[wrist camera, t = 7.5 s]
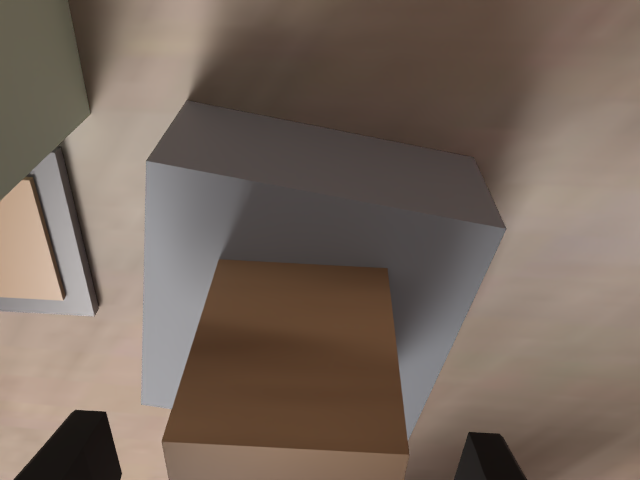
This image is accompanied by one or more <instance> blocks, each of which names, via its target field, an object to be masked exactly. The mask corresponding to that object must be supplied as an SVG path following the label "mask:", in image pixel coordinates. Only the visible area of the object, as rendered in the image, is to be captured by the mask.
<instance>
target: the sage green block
mask: <svg viewBox="0 0 640 480" xmlns="http://www.w3.org/2000/svg"><path fill="white" fill-rule="evenodd" d="M89 115H90V109H89V104H88V99H87V94H86V89H85V84H84V79H83V74H82V69H81V64H80V59H79V54H78V49H77V44H76V39H75V33H74V28H73V23H72V18H71V13H70V8H69V3H68V0H0V201H1V200H2V199H3V198H4V197H5V196H6V195H7V194H8V193H9V192H10V191H11V190H12V189H13V188H14V187H15V186H16V185H17V184H18V183H19V182H20V181H21V180H23V179H24V178H25V177H26V176H27V175H28V174H29V173H30V172H31V171H32V170H33V169H34V168H35V167H36V166H37V165H38V164H39V163H40V162H41V161H42V160H43V159H44V158H45V157H46V156H47V155H49V154H50V153H51V152H52V151H53V150H54V149H55V148H56V147H57V146H58V145H59V144H60V143H61V142H62V141H63V140H64V139H65V138H66V137H67V136H68V135H69V134H70V133H71V132H72V131H73V130H75V129H76V128H77V127H78V126H79V125H80V124H81V123H82V122H83V121H84V120H85V119H86V118H87V117H88V116H89Z"/></svg>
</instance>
